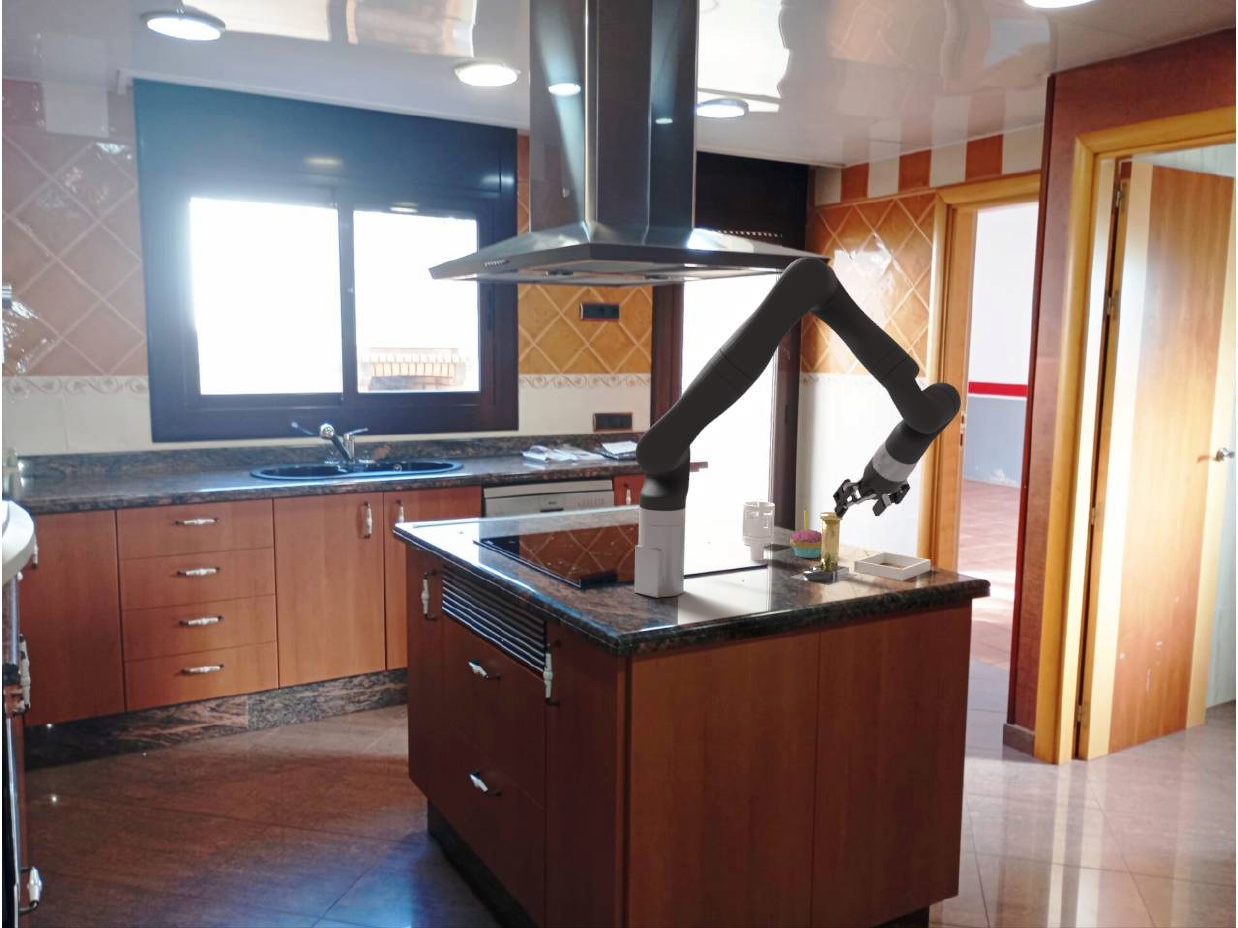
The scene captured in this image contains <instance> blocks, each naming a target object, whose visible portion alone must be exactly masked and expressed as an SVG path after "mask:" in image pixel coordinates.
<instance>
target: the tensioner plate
mask: <svg viewBox="0 0 1238 928" xmlns="http://www.w3.org/2000/svg"><path fill="white" fill-rule="evenodd" d="M820 567H821V562H820V563H817V564H813V565H811V566H809V567H804V568H802V570H801V573H799V574H795V575H793V576H790V578H791V579H796V580H802V581H806V582H811V583H815V584H816V583H817V584H820V585H826V586H829V585H833V584H835V583H839V582H842V581H845V580H847V579H848V580H849V579H851V578H853V577H856V576H857V574H854V573H850V567H849V566H844V565H840V564H838V570H837V571H835V572H834V571H830V570H828V569H824V568H820Z"/></svg>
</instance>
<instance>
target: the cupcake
mask: <svg viewBox="0 0 1238 928" xmlns="http://www.w3.org/2000/svg"><path fill="white" fill-rule="evenodd" d="M806 509H807V507H804V511H803V514H804V529H800V530H797V531H794V533H793V534H792V535H790V540H789V544H790V546H791V547H792V549H793V551H794V554H795V556H797V557H800V558H806V559H807V558H808V559H809V558H811V559H813V558H818V557H820V556H821V544H822V532H820V531H818V530H812V529H809V528H808V527H809V526H808V511H807V510H806Z"/></svg>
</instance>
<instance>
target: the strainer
mask: <svg viewBox="0 0 1238 928" xmlns="http://www.w3.org/2000/svg"><path fill="white" fill-rule="evenodd" d="M775 507H776V505H775V503H773V502H770V501H769V502H768V501H764V500H763V499H756V500H752V501H751V500H749V501H748V500H747V501H744V502H743V503H742V515H741V517H742V519H741V520H742V521H741V522H742V523H741V541H743V542H744V541H745V542H749V543H751V545H750V546H749V551H750V553H749V559H750V560H751V561H760V562H761V561H764V559H765V557H764V556H765V555H764V553H765V547H764V543H771V544H772V543H773V542H774V536H775V535H774V530H775V511H774V509H776V508H775ZM746 510H747V511H746ZM750 511H758V513H756V512H752V514H750ZM764 511H771V513H768V514H766V513H764ZM745 515H746V528H745ZM762 517H763V518H762ZM770 524H771V532H770Z"/></svg>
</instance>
